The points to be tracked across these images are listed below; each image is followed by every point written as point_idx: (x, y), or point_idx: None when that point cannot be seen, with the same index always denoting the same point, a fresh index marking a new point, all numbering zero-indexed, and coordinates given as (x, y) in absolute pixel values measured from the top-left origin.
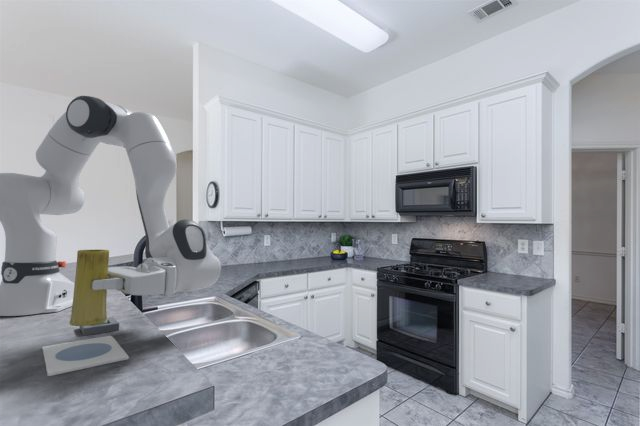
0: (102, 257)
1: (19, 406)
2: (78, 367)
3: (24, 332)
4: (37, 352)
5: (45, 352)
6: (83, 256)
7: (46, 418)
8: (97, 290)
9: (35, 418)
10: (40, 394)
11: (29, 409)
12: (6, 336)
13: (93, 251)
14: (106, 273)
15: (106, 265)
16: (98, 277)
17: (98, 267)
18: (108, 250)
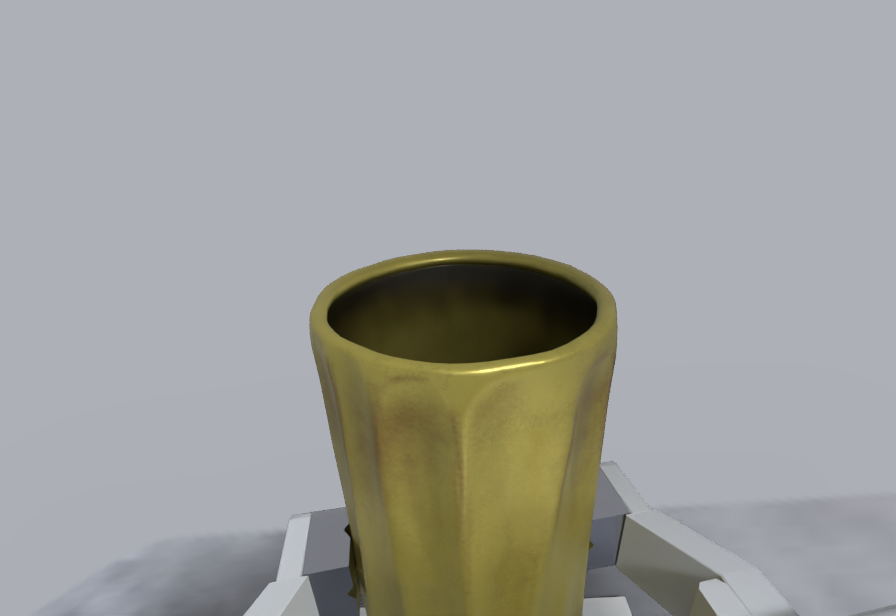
0: (334, 398)
1: (186, 557)
2: None
3: (871, 544)
4: (585, 587)
5: None
6: (387, 306)
7: (52, 607)
8: (366, 605)
9: (84, 586)
10: (205, 596)
11: (145, 575)
12: (806, 501)
13: (325, 291)
14: (391, 588)
15: (379, 518)
16: (353, 534)
17: (338, 460)
18: (407, 368)
